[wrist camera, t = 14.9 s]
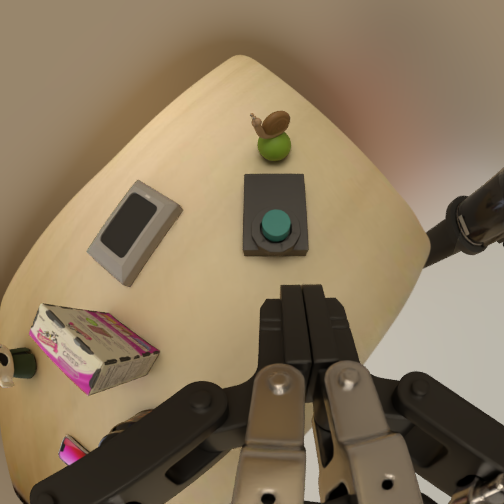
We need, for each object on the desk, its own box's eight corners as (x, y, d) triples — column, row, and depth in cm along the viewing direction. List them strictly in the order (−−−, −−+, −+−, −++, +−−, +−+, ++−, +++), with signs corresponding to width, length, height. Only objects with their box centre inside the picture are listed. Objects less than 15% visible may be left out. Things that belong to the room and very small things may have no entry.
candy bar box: (96, 336, 39) (26, 334, 24) (108, 312, 40) (40, 299, 25) (147, 377, 38) (86, 398, 22) (162, 351, 39) (103, 361, 23)
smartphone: (118, 505, 30) (57, 456, 32) (120, 503, 31) (59, 454, 33) (130, 486, 31) (64, 434, 34) (132, 483, 32) (67, 432, 34)
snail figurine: (247, 152, 47) (241, 104, 35) (278, 137, 47) (280, 89, 36) (263, 174, 45) (262, 128, 34) (296, 158, 46) (302, 111, 34)
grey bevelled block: (82, 249, 40) (135, 175, 43) (94, 255, 43) (143, 185, 46) (118, 283, 38) (176, 200, 41) (129, 287, 41) (183, 210, 44)
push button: (289, 242, 37) (291, 235, 35) (262, 242, 37) (262, 235, 35) (288, 216, 38) (290, 209, 36) (262, 216, 38) (261, 209, 36)
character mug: (48, 370, 38) (-1, 373, 25) (38, 394, 37) (-9, 401, 24) (20, 331, 40) (-26, 326, 27) (11, 356, 39) (-34, 354, 26)
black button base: (305, 260, 41) (310, 251, 36) (244, 261, 42) (241, 252, 37) (301, 183, 44) (305, 167, 40) (245, 184, 45) (243, 167, 40)
